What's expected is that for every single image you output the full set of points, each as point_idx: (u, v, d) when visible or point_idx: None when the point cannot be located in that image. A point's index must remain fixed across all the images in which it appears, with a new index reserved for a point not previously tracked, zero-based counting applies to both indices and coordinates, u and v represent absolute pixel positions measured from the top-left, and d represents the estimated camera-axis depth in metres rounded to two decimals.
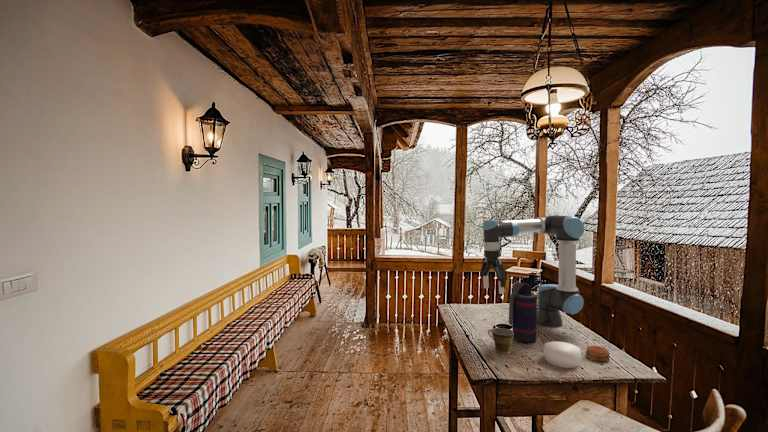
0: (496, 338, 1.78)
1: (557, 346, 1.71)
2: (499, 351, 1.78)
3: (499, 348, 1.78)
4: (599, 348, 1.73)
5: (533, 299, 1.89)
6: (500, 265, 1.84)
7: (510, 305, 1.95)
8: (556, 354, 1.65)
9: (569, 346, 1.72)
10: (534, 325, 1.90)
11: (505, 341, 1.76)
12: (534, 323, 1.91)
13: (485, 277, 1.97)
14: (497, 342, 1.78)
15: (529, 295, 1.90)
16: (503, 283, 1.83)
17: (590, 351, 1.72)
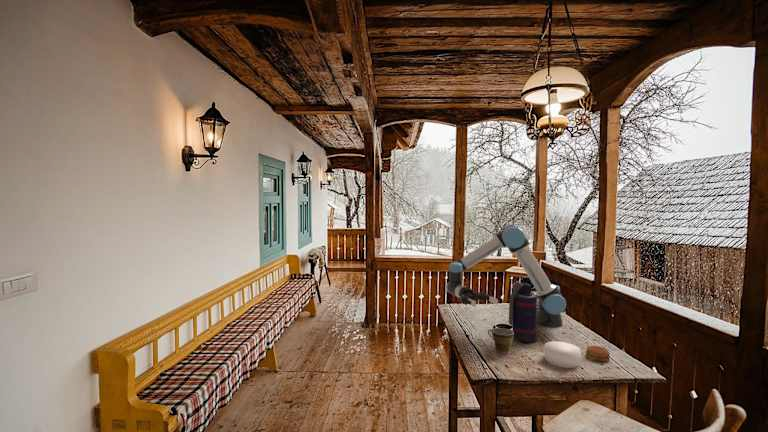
0: (496, 338, 1.78)
1: (557, 346, 1.71)
2: (499, 351, 1.78)
3: (499, 348, 1.78)
4: (599, 348, 1.73)
5: (533, 299, 1.89)
6: (460, 297, 2.03)
7: (510, 305, 1.95)
8: (556, 354, 1.65)
9: (569, 346, 1.72)
10: (534, 326, 1.90)
11: (505, 341, 1.76)
12: (534, 323, 1.91)
13: (490, 300, 2.00)
14: (497, 342, 1.78)
15: (529, 295, 1.90)
16: (467, 301, 1.94)
17: (590, 351, 1.72)
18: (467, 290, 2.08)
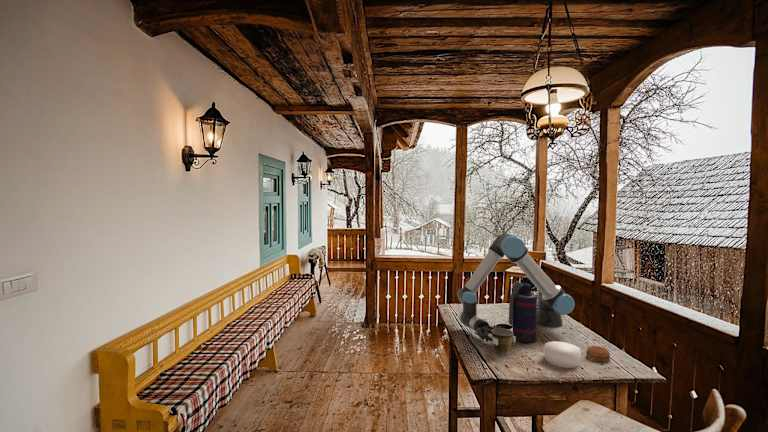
0: None
1: (557, 346, 1.71)
2: (498, 351, 1.78)
3: (498, 349, 1.78)
4: (599, 348, 1.73)
5: (533, 299, 1.89)
6: (477, 332, 1.89)
7: (510, 305, 1.95)
8: (556, 354, 1.65)
9: (569, 346, 1.72)
10: (534, 325, 1.90)
11: (504, 341, 1.76)
12: (534, 323, 1.91)
13: None
14: None
15: (529, 295, 1.90)
16: (488, 338, 1.80)
17: (590, 351, 1.72)
18: (483, 323, 1.95)
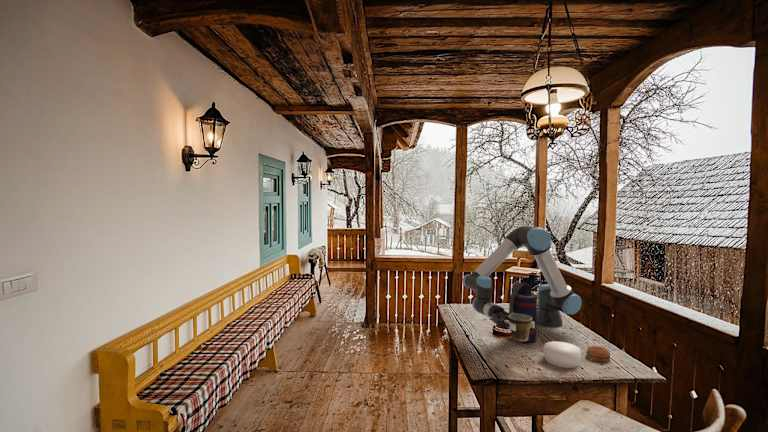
0: None
1: (557, 346, 1.71)
2: (515, 338, 1.65)
3: (516, 335, 1.65)
4: (600, 348, 1.73)
5: (533, 299, 1.89)
6: (492, 318, 1.76)
7: (510, 305, 1.95)
8: (556, 354, 1.65)
9: (569, 346, 1.72)
10: None
11: (522, 327, 1.62)
12: None
13: None
14: None
15: (529, 295, 1.90)
16: (504, 324, 1.67)
17: (591, 351, 1.71)
18: (498, 309, 1.81)
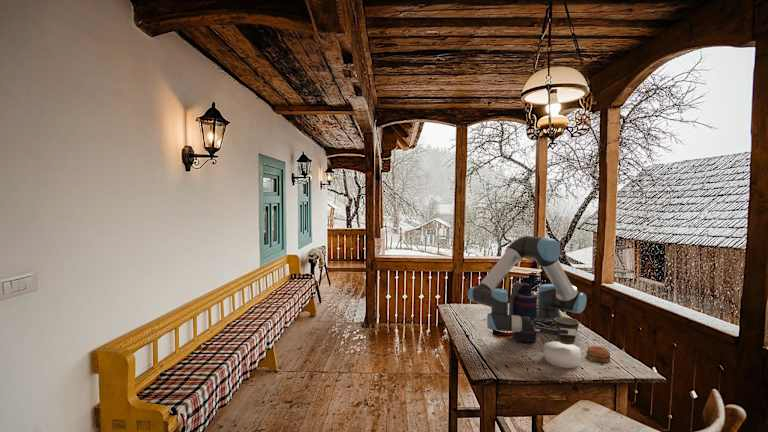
0: None
1: (557, 346, 1.71)
2: (570, 342, 1.66)
3: (570, 339, 1.66)
4: (600, 349, 1.72)
5: (533, 299, 1.89)
6: (541, 331, 1.66)
7: (510, 305, 1.95)
8: (556, 354, 1.65)
9: (569, 346, 1.72)
10: None
11: None
12: None
13: None
14: None
15: (529, 295, 1.90)
16: (563, 332, 1.63)
17: (591, 352, 1.71)
18: None
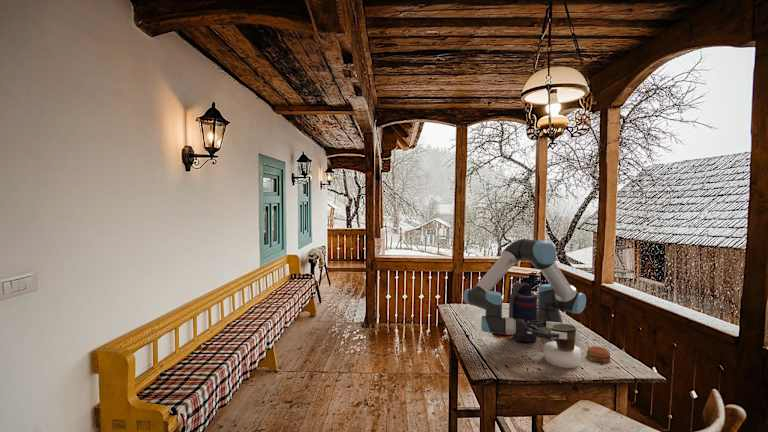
0: (568, 335, 1.63)
1: None
2: (570, 349, 1.64)
3: (570, 346, 1.64)
4: (600, 349, 1.72)
5: (533, 299, 1.89)
6: (532, 333, 1.66)
7: (510, 305, 1.95)
8: (556, 354, 1.65)
9: None
10: None
11: None
12: None
13: (548, 325, 1.77)
14: (568, 339, 1.64)
15: (529, 295, 1.90)
16: (554, 335, 1.63)
17: (591, 352, 1.71)
18: (523, 322, 1.74)
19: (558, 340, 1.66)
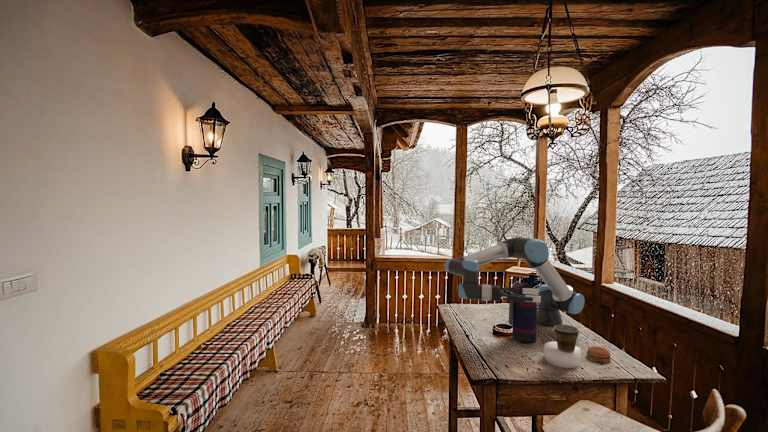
0: (569, 337, 1.63)
1: (557, 346, 1.71)
2: (570, 350, 1.64)
3: (570, 348, 1.64)
4: (600, 349, 1.72)
5: None
6: (507, 298, 1.69)
7: (510, 305, 1.95)
8: (556, 354, 1.65)
9: None
10: (534, 326, 1.90)
11: (576, 337, 1.64)
12: (534, 323, 1.91)
13: (524, 292, 1.80)
14: (570, 341, 1.63)
15: (529, 295, 1.90)
16: (528, 299, 1.65)
17: (591, 352, 1.71)
18: (499, 288, 1.76)
19: (559, 341, 1.66)
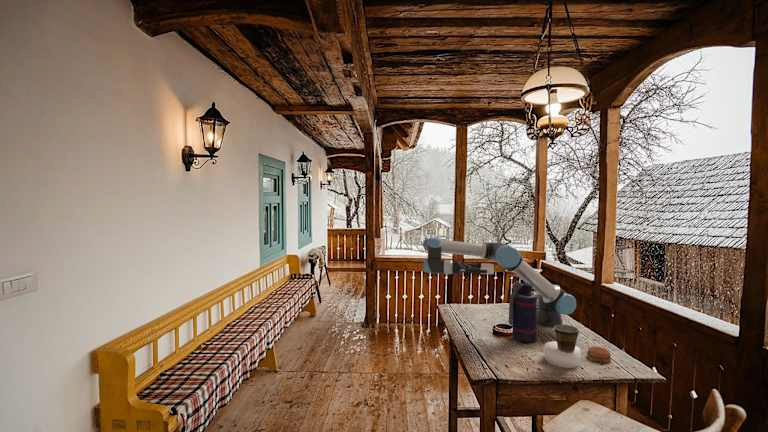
0: (569, 337, 1.63)
1: (557, 346, 1.71)
2: (570, 350, 1.64)
3: (570, 348, 1.64)
4: (600, 349, 1.72)
5: (533, 299, 1.89)
6: (465, 270, 1.90)
7: (510, 305, 1.95)
8: (556, 354, 1.65)
9: None
10: (534, 326, 1.90)
11: (576, 337, 1.64)
12: (534, 323, 1.91)
13: (482, 267, 2.01)
14: (570, 341, 1.63)
15: (529, 295, 1.90)
16: (483, 271, 1.86)
17: (591, 352, 1.71)
18: (459, 263, 1.97)
19: (559, 341, 1.66)
